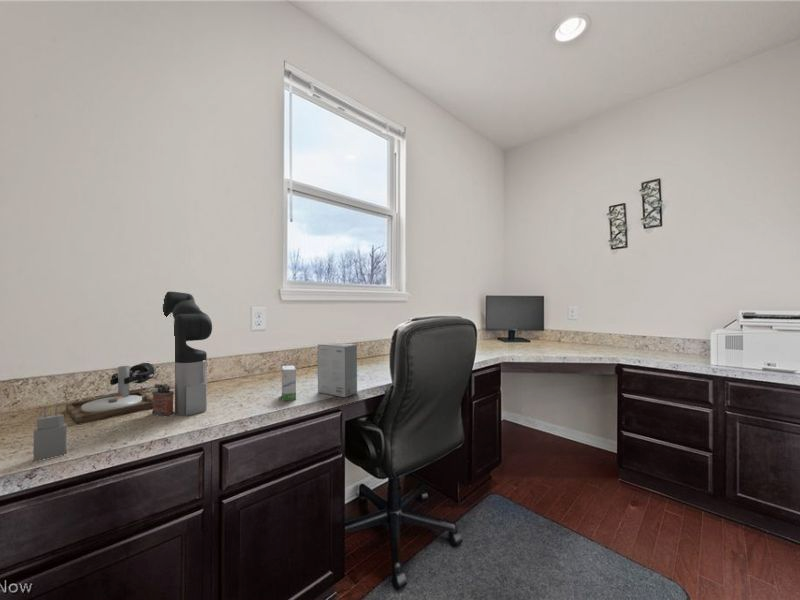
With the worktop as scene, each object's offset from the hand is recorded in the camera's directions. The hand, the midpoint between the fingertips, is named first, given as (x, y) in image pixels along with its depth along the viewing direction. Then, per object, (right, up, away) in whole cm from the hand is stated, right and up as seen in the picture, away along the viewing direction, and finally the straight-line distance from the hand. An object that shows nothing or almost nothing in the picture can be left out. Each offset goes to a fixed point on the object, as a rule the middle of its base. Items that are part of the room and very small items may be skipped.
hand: (118, 381), depth 119 cm
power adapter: (+17, -9, -39) cm, 44 cm away
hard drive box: (+76, -9, +16) cm, 78 cm away
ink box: (+58, -9, +10) cm, 60 cm away
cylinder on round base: (+1, -7, -4) cm, 8 cm away
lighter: (+23, -9, -9) cm, 26 cm away
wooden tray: (+2, -9, -4) cm, 10 cm away
